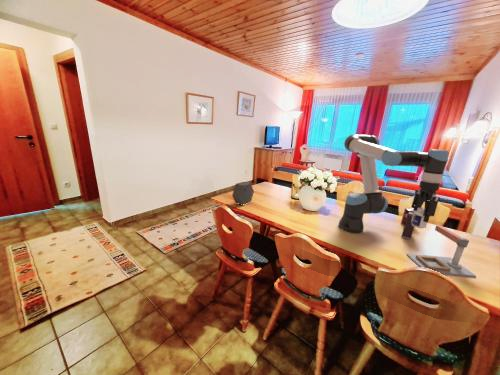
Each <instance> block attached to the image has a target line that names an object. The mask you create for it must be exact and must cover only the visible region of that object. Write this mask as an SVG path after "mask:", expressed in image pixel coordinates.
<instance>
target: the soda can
mask: <svg viewBox="0 0 500 375" xmlns="http://www.w3.org/2000/svg"><path fill="white" fill-rule="evenodd" d="M409 211H414V209H413V208H412V207H405V208H404V211H403V214H402V217H401V221H400V224H401V225H402V226H403V227H404V226H405V223H406V219H407V216H408V213H409Z"/></svg>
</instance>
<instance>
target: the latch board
mask: <svg viewBox="0 0 500 375" xmlns="http://www.w3.org/2000/svg"><path fill="white" fill-rule="evenodd" d="M465 249H466V247H461V246H458V245H457V246H456V249H455V251H454V254H453V257H447V256H437V255H428V254H427V255H425V254H417V253H416V254H415V253H406V256H407V257H408V258H410V260H412V262H414V263H415V264H416V265H417V266H418V267H419V268H420V267H424V268H429V269H432V270H434V271H437V272H440V273H442V274H441V275H451V276H460V277H461V276H462V277H471V278H476V277H477V275H476V274H475V273H473V272H472V271H470V270H469V269H468V268H466V267H465V266H463V265H462V264H460V260H461V258H462V255H463V252H464V251H465Z"/></svg>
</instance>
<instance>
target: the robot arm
mask: <svg viewBox="0 0 500 375" xmlns="http://www.w3.org/2000/svg"><path fill="white" fill-rule="evenodd" d="M343 145H344V148H345V149H346V150H347V151H348V152H351V153H356V156H357V157H358V158H360V159H359V160H360V161H359V162H360V168H361V175H362V176H361V177H362V184H363V192H362V193H360V192H352V193H348V194H347V195H346V199H345V203H344V204H345V205H344V210H343V214H342V216H341V217H340V220H339V221H338V227H339V228H340V229H341V230H343V231H345V232H348V233H352V234H361V233H363V231H364V221H363V219H364V214H367V215H368V214H381V213H384V212H385V211H386V210H387V208H388V206H389V204H388V202H389V201H388V199H387V197H386V196H384V195H383V192H382V191H381V190H380V189H379V188H380V187H379V180H378V175H377V174H378V173H377V167H376V166H377V165H376V160H377V161H381V163H382V164H383V165H385V166H390V167H418V168H423V171H422V174H421V178H420V179H421V180H420V182H419V185H418V187H419V189H415V190H414V197H413V199H412V203H411V207H410V208H413V209H414V212H413V217H414V213H415V212H416V211H417V209H418V208H424V214H423V215H422V218H421V222H420V225H419V227H423V228H422V229H425V228H426V227H427V225H428V223H429V220H430V217H435V214H436V212H437V207H438V203H439V201H440V200H441V197H440V196H437V195H436V193H437V191H439V190H440V187H441V182H442V179H443V176H444V172H445V168H446V167H447V164H448V160H449V156H450V151H449V150H446V149H435V148H432V149H431V148H430V149H429V150H428V152H424V151H423V152H422V151H416V150H406V151H402V150H396V149H392V148H389V147H385V146H383V145H380V140H379V139H378V137H377V136H376V135H373V134H372V135H371V134H358V133H357V134H350V135H349V136H347V137H346V138H345V140H344V142H343ZM423 204H424V207H423ZM413 217H412V220H413ZM412 220H411V222H412Z"/></svg>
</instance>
